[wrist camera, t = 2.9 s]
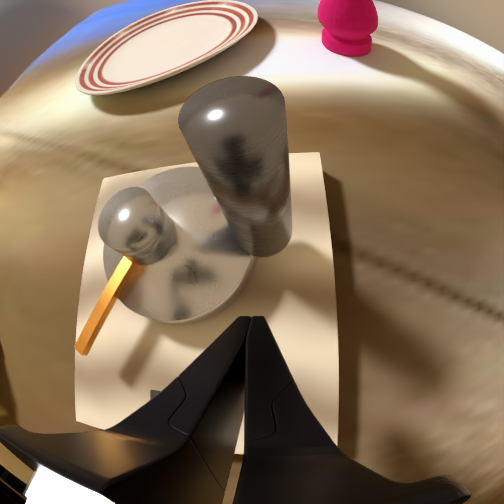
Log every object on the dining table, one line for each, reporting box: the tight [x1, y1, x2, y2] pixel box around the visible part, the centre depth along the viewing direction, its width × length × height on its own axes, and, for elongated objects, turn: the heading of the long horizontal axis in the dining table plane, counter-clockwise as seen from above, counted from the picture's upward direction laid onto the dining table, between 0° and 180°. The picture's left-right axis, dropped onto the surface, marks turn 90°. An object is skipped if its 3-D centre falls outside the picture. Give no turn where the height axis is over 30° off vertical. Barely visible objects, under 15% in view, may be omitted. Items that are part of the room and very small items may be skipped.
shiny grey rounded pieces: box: [74, 76, 292, 356], centre depth 13 cm, size 13×13×11 cm
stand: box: [75, 152, 339, 454], centre depth 19 cm, size 20×18×2 cm
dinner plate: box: [75, 0, 258, 95], centre depth 32 cm, size 27×27×3 cm
